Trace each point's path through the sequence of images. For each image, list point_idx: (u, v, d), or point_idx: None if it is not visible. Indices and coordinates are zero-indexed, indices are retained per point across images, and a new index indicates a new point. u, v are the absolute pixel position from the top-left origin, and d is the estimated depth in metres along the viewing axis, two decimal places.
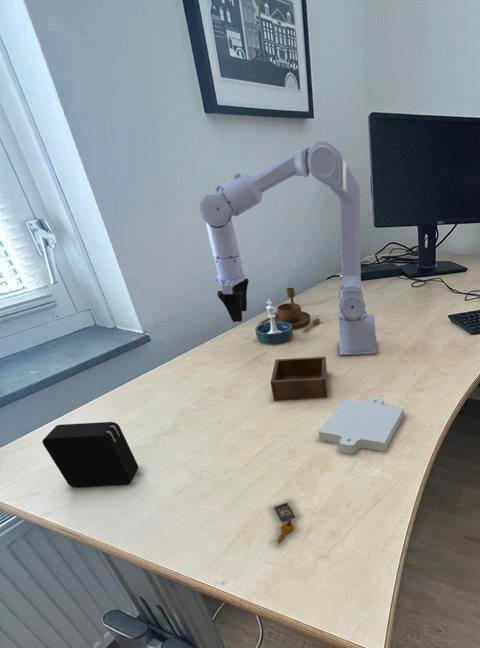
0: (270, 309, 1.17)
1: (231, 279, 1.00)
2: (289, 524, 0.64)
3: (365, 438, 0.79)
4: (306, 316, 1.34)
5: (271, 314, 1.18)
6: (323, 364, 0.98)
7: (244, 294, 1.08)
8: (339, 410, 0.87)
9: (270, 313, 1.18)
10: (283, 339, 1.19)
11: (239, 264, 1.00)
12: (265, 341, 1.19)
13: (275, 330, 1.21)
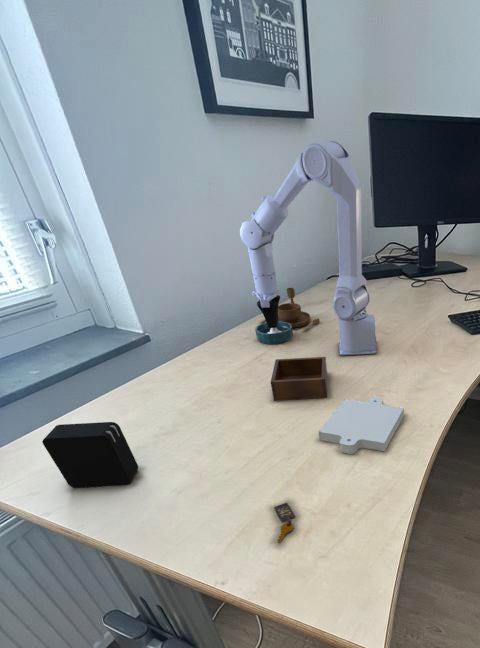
0: None
1: (268, 294, 1.13)
2: (289, 524, 0.64)
3: (365, 438, 0.79)
4: (306, 316, 1.34)
5: None
6: (323, 364, 0.98)
7: None
8: (339, 410, 0.87)
9: None
10: (283, 339, 1.19)
11: (275, 281, 1.13)
12: (265, 341, 1.19)
13: (275, 330, 1.21)
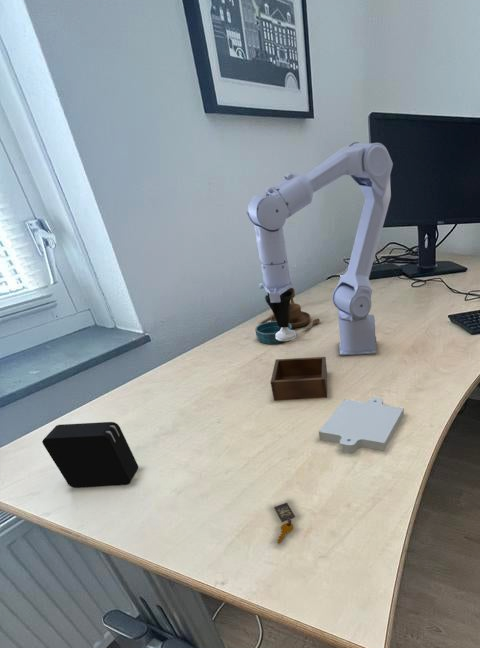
0: None
1: (278, 287, 0.94)
2: (289, 524, 0.64)
3: (365, 438, 0.79)
4: (306, 316, 1.34)
5: None
6: (323, 364, 0.98)
7: None
8: (339, 410, 0.87)
9: None
10: None
11: (287, 270, 0.93)
12: (265, 341, 1.19)
13: (286, 330, 1.02)
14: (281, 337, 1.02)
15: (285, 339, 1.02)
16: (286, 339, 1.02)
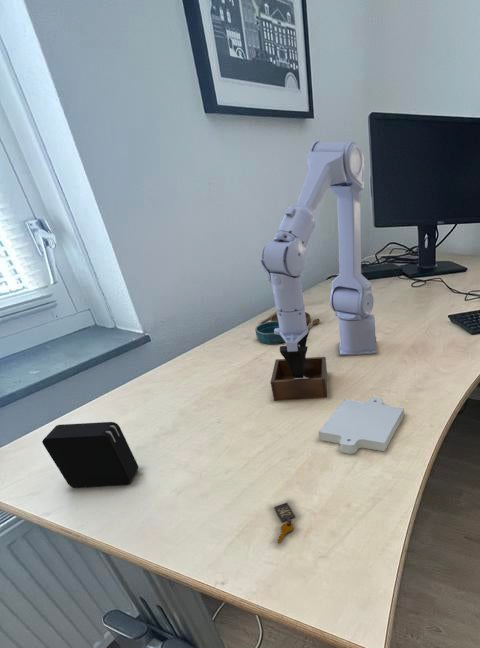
0: None
1: (295, 333, 0.89)
2: (289, 524, 0.64)
3: (365, 438, 0.79)
4: (306, 316, 1.34)
5: None
6: (323, 364, 0.98)
7: (304, 345, 0.97)
8: (339, 410, 0.87)
9: None
10: (283, 339, 1.19)
11: (304, 316, 0.89)
12: (265, 341, 1.19)
13: (302, 378, 0.98)
14: None
15: None
16: None
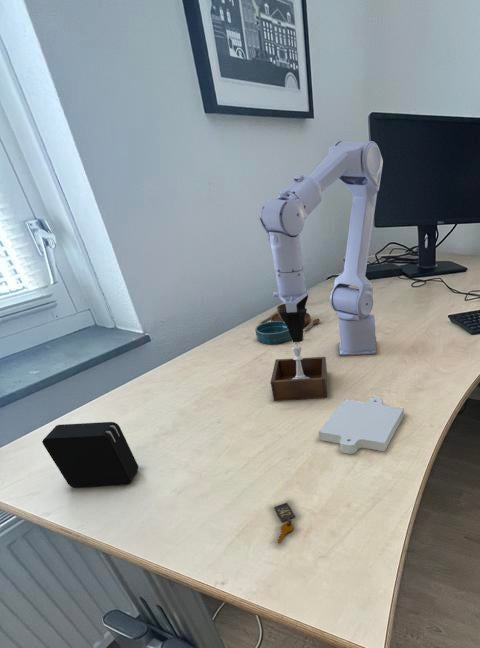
0: (297, 350, 0.95)
1: (294, 295, 0.89)
2: (289, 524, 0.64)
3: (365, 438, 0.79)
4: (306, 316, 1.34)
5: (298, 356, 0.96)
6: (323, 364, 0.98)
7: None
8: (339, 410, 0.87)
9: (297, 355, 0.95)
10: (283, 339, 1.19)
11: (303, 278, 0.89)
12: (265, 341, 1.19)
13: (302, 375, 0.98)
14: None
15: None
16: None
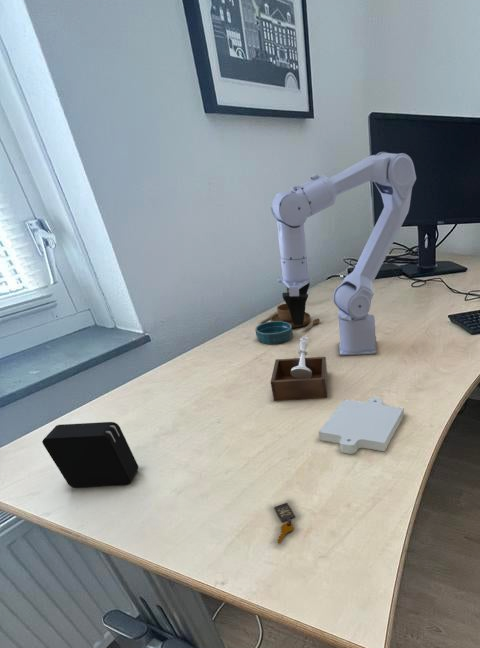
0: (304, 343, 1.00)
1: (297, 281, 0.96)
2: (289, 524, 0.64)
3: (365, 438, 0.79)
4: (306, 316, 1.34)
5: (303, 349, 1.00)
6: (323, 364, 0.98)
7: None
8: (339, 410, 0.87)
9: (302, 348, 1.00)
10: (283, 339, 1.19)
11: (306, 266, 0.96)
12: (265, 341, 1.19)
13: (304, 365, 0.99)
14: (298, 366, 0.97)
15: (302, 367, 0.97)
16: (303, 368, 0.97)
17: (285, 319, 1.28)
